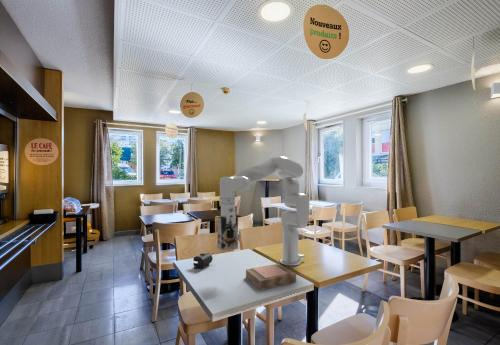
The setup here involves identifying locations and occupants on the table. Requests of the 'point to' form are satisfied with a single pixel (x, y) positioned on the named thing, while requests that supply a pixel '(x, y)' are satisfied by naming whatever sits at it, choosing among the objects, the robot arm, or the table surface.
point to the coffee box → (222, 239)
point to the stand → (270, 276)
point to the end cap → (202, 260)
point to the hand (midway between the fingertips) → (227, 236)
